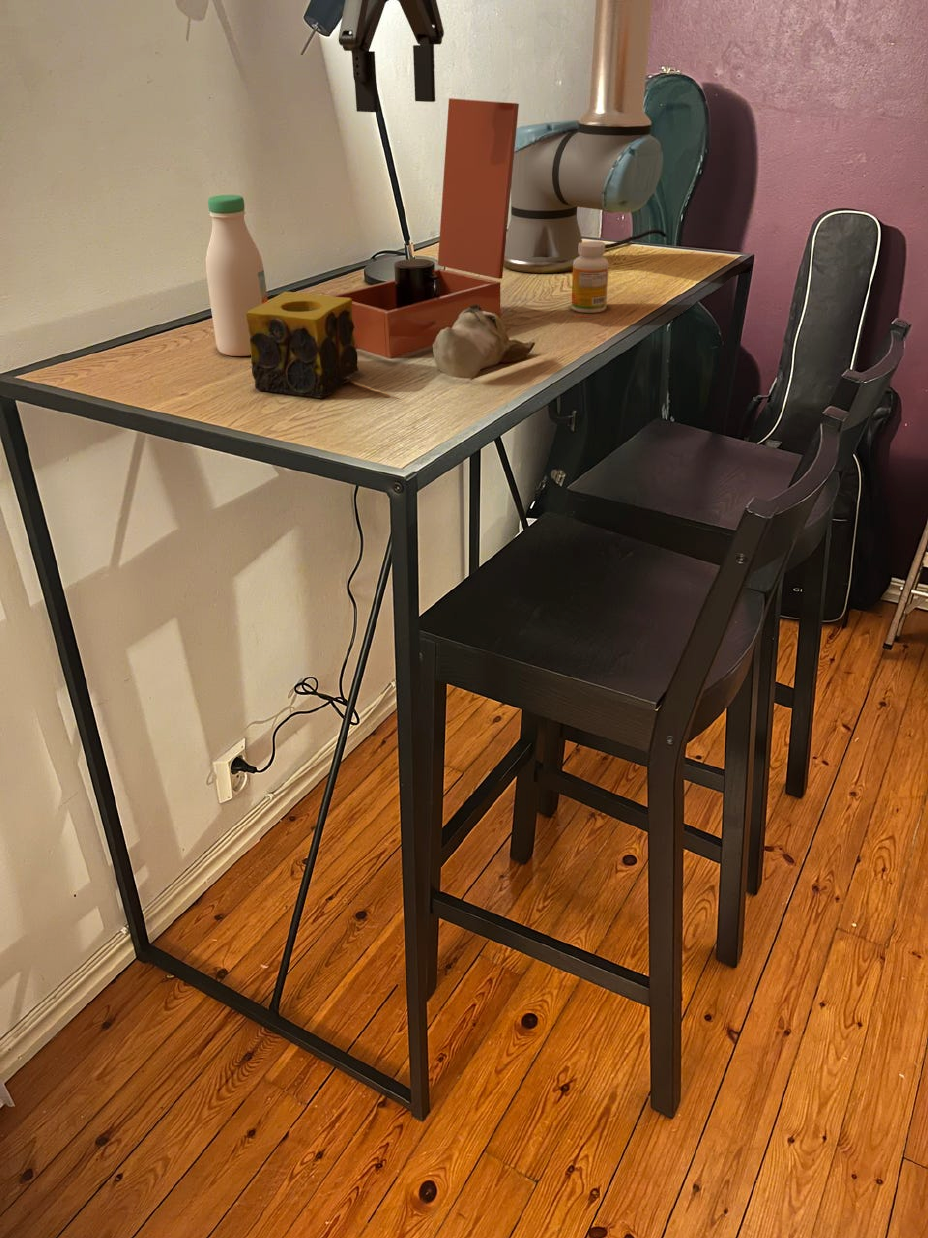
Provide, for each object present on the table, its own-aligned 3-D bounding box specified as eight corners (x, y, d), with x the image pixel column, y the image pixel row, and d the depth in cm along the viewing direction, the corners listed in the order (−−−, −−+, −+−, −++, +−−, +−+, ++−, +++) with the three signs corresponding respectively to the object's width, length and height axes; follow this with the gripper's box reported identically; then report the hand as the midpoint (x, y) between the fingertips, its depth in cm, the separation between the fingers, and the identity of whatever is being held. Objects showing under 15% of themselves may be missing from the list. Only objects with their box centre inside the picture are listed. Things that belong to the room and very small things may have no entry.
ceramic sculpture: (410, 308, 126) (472, 289, 137) (410, 377, 130) (470, 353, 141) (484, 321, 121) (542, 299, 132) (481, 392, 125) (538, 365, 137)
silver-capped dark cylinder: (389, 332, 146) (385, 263, 141) (418, 323, 149) (415, 256, 144) (425, 342, 141) (423, 271, 136) (454, 333, 144) (452, 264, 139)
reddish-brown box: (390, 364, 136) (387, 312, 132) (331, 345, 143) (326, 296, 140) (500, 329, 149) (500, 281, 145) (440, 313, 156) (439, 268, 153)
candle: (292, 366, 136) (284, 290, 130) (360, 374, 132) (355, 296, 127) (252, 391, 127) (241, 310, 122) (323, 400, 124) (316, 318, 119)
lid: (515, 103, 135) (519, 103, 135) (448, 97, 142) (452, 98, 143) (498, 278, 145) (502, 278, 145) (437, 265, 152) (441, 265, 153)
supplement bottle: (576, 303, 160) (578, 238, 155) (609, 305, 159) (613, 240, 154) (567, 311, 156) (570, 246, 151) (601, 314, 154) (605, 248, 149)
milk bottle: (261, 358, 139) (241, 202, 128) (208, 355, 140) (184, 201, 129) (281, 341, 145) (264, 192, 134) (230, 339, 146) (209, 191, 136)
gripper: (417, -90, 130) (423, 96, 141) (296, -100, 111) (315, 115, 123) (468, -93, 126) (470, 98, 138) (353, -104, 108) (366, 117, 119)
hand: (397, 106), depth 130 cm, fingers open, 13 cm apart
